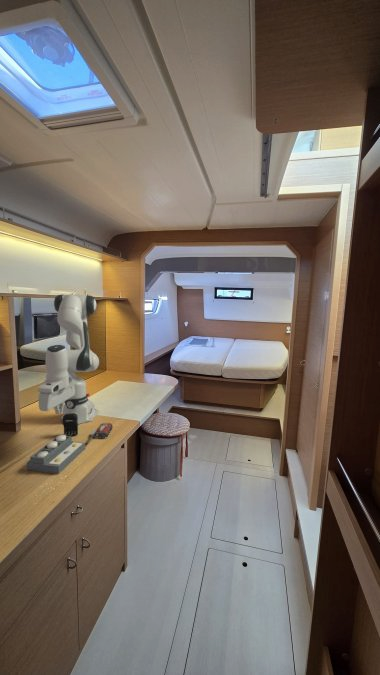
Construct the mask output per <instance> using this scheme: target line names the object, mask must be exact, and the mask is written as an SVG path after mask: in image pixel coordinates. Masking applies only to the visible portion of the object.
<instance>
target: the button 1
mask: <svg viewBox="0 0 380 675" xmlns="http://www.w3.org/2000/svg"><path fill="white" fill-rule="evenodd" d="M47 454H48V452H47V451H43V452H40V453H38V454H37V457H45V456H46V455H47Z"/></svg>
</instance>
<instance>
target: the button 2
mask: <svg viewBox="0 0 380 675" xmlns="http://www.w3.org/2000/svg"><path fill="white" fill-rule="evenodd" d="M55 438H56V441H57V442H61V443H62V442H64V441H65V440H66V435H64V434H59V435H57V436H56V437H55Z"/></svg>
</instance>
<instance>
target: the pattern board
mask: <svg viewBox="0 0 380 675" xmlns="http://www.w3.org/2000/svg"><path fill="white" fill-rule="evenodd" d="M72 437H73V436H66V440H65V441H64V442H62V443H61V442H57V443H58V446H57V447H56V448H55V449H54V450H52V449H47V444H46V445H44V446H43V447H42V448H40V449H39V450H37V451H35V452H34V453H33V454H32V455H30V457H29V459H30V460H28V461H26V471H34V472H42V473H48V474H49V473H50V474H57V475H59V474H61V473H62V472H63V471H64V470H65V469H66V468H67V467H68V466H69V465H70V464H71V463H72V462H73V461H75V459H77V457H78V456H79V455H80V454H82V453H83V452H84V451H85V450H86V442H82V441H81V442H80V441H73V440H72V439H73V438H72ZM51 441H56V437H55V438H54V439H52V440H51ZM43 451H47V452H48V454H47V455H46V456H45V457H37V454H38V453H40V452H43Z"/></svg>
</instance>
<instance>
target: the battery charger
mask: <svg viewBox="0 0 380 675" xmlns="http://www.w3.org/2000/svg"><path fill="white" fill-rule="evenodd" d="M62 416H63V415H62ZM62 426H63V435H66V436H72V437H75V436H78V435H79V424H78V414H77V413H66V414H64V416H63V420H62Z"/></svg>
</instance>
